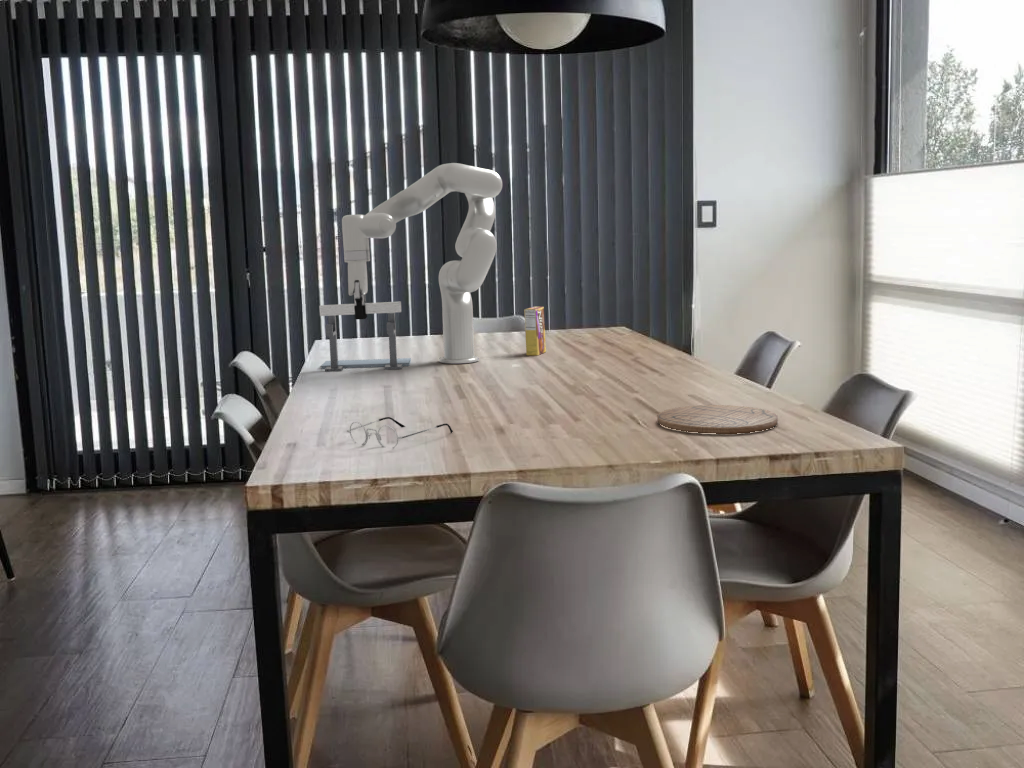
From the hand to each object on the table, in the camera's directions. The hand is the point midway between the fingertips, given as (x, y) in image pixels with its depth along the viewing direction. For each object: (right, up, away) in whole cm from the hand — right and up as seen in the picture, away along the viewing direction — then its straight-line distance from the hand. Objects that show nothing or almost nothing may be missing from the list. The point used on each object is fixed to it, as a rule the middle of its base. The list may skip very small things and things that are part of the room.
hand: (361, 318), depth 306 cm
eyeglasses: (+22, -31, -95) cm, 102 cm away
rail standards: (0, -15, +5) cm, 16 cm away
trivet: (+89, -29, -89) cm, 129 cm away
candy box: (+53, -10, +30) cm, 62 cm away
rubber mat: (0, -14, +15) cm, 20 cm away
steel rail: (0, +1, 0) cm, 1 cm away
